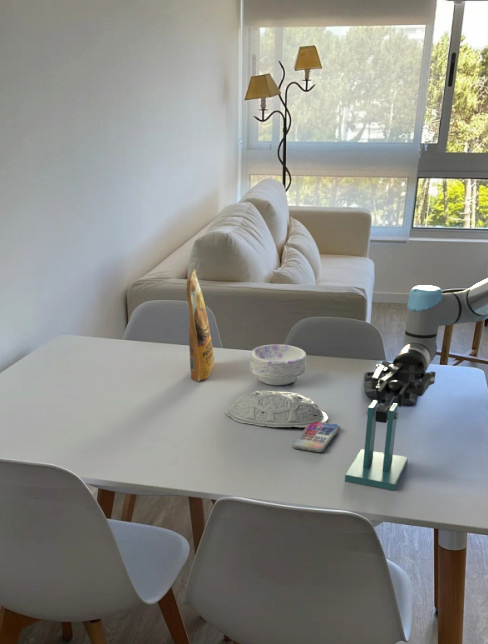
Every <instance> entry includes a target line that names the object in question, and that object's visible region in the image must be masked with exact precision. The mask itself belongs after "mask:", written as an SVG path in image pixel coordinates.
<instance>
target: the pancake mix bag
mask: <svg viewBox="0 0 488 644" xmlns="http://www.w3.org/2000/svg"><path fill="white" fill-rule="evenodd" d="M186 299H187V303H188V308H189V309H188V310H189V330H188V331H189V332H188V333H189V334H188V342H189V343H188V345H189V347H188V348H189V367H190V378H191V379H192V380H193V381H195V382H201V381H204V380H205V381H206V380H207V379H209V377H210V376H211V375H210V374H211V373H212V371H213V370H214V368H215V367H214V366H215V356H214V347H213V341H212V336H211V331H210V324H209V319H208V314H207V309H206V304H205V300H204V295H203V291H202V289H201V286H200V282H199V279H198V276H197V273H196V268H193V270H191V272H190V273H189V277H188V279H187V281H186Z"/></svg>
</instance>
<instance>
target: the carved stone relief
mask: <svg viewBox="0 0 488 644" xmlns="http://www.w3.org/2000/svg"><path fill="white" fill-rule="evenodd" d="M225 415H226V416H227V417H230V418H232V419H233V420H234V421H235V422H238V423H242V424H248V425H249V424H250V425H254V426H259V427H269V428H292V427H295V428H306V427H307V426H308V425H309V424H312V423H315V422H318V421H319V422H325V423H327V422H328V420H329V416H328V415H327V413H326V412H324V411H322V410H321V409H320V407H319V406H318V404H317V403H315V402H314V401H313V400H312V399H310V398H308V397H306V396H304V395H302V394H300V393H295V392H289V391H279V390H274V391H272V390H256V391H253V392H249V393H247V394H243V395H242V396H239V397H238V398H236V400H234V402H233V404H232V405H230V406H229V410H226V411H225Z"/></svg>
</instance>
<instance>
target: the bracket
mask: <svg viewBox="0 0 488 644" xmlns="http://www.w3.org/2000/svg"><path fill="white" fill-rule="evenodd" d="M378 406H379V404H378V400H376V399H373V400H372V401H371V403H370V404H369V406H368V408H367V409H366V415H367V418H366V428H365V440H364V448H361V449H360V451H359V452H358V453H357V455H356V457H355V458H354V460H353V462H352V463H351V464H350V466H349V468H348V470H347V471H346V473H345V475H344V482H348V483H352V484H357V485H363V486H368V487H373V488H377V489H383V490H388V491H393V492H394V491H396V489H397V486H398V484H399V482H400V480H401V477H402V476H403V474H404V472H405V469H406V467H407V465H408V461H409V460H408V459H409V457H408V456H403V455H398V454H394V447H395V438H396V429H397V421H398V419H399V412H398V411H399V407H398V403H394V402H392V404H391V405H390V409H389V413H388V420H387V422H386V433H385V442H384V450H383V451H384V452H380V451H374V450H375V449H374V448H375V439H376V438H375V437H376V429H377V422H376V421H375V416H376V410H377V408H378Z"/></svg>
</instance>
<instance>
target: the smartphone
mask: <svg viewBox="0 0 488 644" xmlns="http://www.w3.org/2000/svg"><path fill="white" fill-rule="evenodd" d="M340 429H341V425H340V424H338V423H333V422H332V423H331V422H319V421H318V422H315V423H312V424H309V425H308V426H307V427H304V429H303V430H302V431H301V433H300V434H299V435H298V436H297V437H296V438H295V440H294V441H293V442H292V444H291V447H292V448H293V449H296V450H302V451H307V452H308V451H309V452H314V453H322V452H324V451H325V450H326V448H327V447H328V445H329V444H330V442H331V441H332V440H333V439H334V437H335V436H336V435H337V433H338V432H339V431H340Z"/></svg>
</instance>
